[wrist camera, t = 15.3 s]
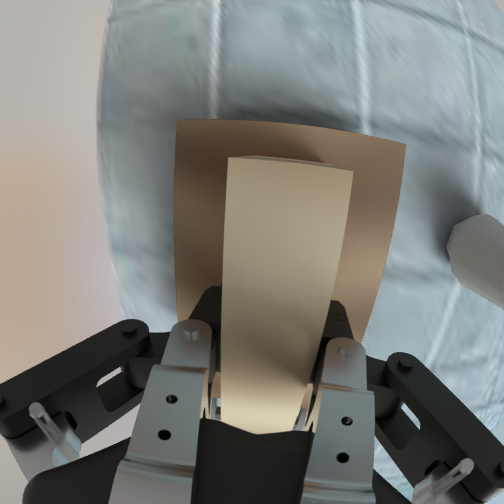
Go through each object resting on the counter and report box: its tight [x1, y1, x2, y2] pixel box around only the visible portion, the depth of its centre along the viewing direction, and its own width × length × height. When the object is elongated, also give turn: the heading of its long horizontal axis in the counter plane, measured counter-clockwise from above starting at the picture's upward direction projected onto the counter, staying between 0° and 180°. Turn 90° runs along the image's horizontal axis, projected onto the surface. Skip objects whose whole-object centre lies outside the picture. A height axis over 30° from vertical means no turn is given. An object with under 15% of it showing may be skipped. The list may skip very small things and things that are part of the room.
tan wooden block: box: [174, 119, 406, 434], centre depth 15 cm, size 25×10×10 cm, turn 176°
